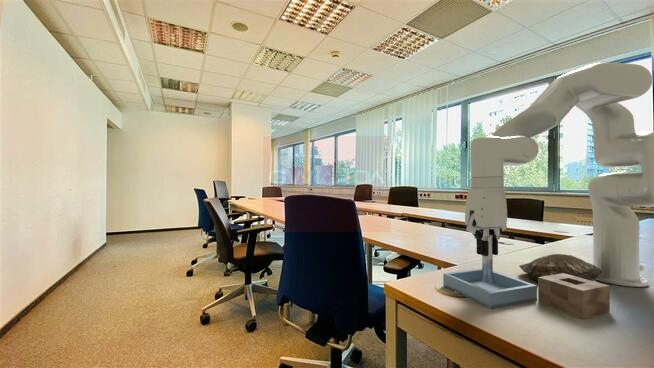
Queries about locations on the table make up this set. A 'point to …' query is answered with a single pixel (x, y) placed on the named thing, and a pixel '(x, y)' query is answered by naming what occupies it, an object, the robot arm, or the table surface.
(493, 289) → the tray
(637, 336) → the table surface
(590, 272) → the crinkled plastic bag
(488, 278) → the steel pin
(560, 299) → the pin holder
